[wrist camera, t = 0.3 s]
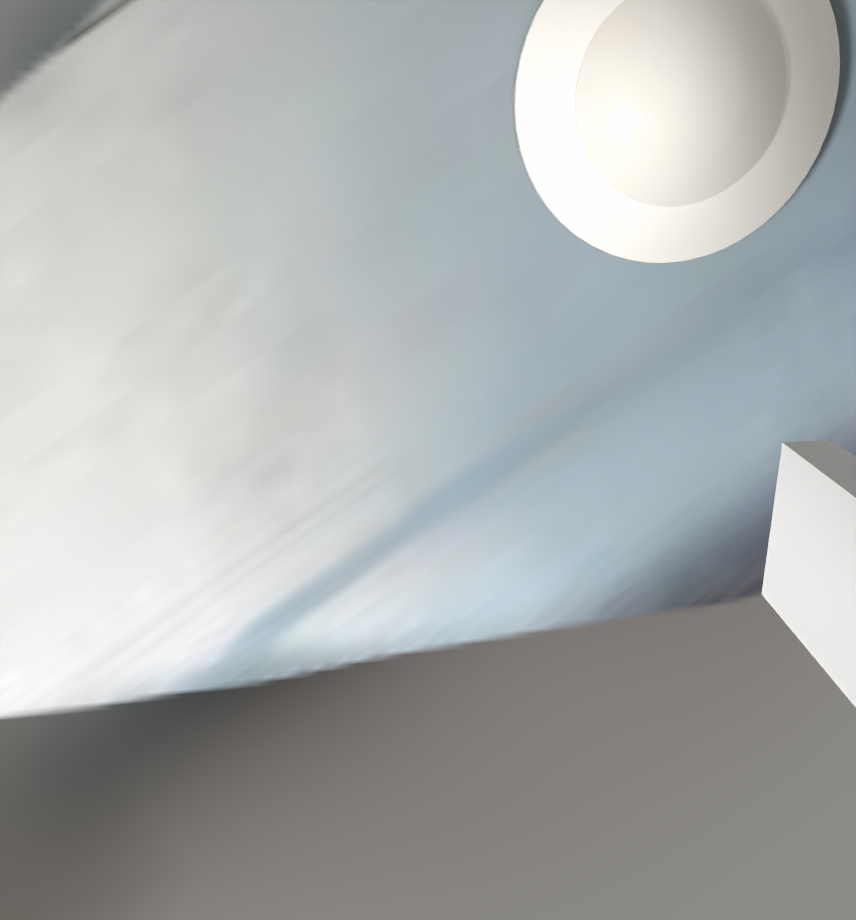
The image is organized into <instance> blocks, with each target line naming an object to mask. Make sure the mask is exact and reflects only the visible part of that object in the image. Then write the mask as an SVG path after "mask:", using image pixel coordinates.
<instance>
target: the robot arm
mask: <svg viewBox="0 0 856 920" xmlns="http://www.w3.org/2000/svg"><path fill="white" fill-rule="evenodd" d="M762 595H763V596H764V598H765V599H766V600H767V601H768V602H769V604H770V605H771V606H772V607H773V608H774V609H775V611H776V612H777V613H778V614H779V616H780V617H781V618H782V619H783V620H784V622H785V623H786V624H787V625H788V626H789V628H790V629H791V630H792V631H793V632H794V634H795V635H796V636H797V637H798V638H799V640H800V641H801V642H802V643H803V644H804V646H805V647H806V648H807V649H808V650H809V652H810V653H811V654H812V655H813V656H814V658H815V659H816V660H817V661H818V663H820V665H821V666H822V667H823V669H824V670H825V671H826V672H827V673H828V675H829V676H830V677H831V678H832V679H833V681H834V682H835V683H836V684H837V685H838V686H839V688H840V689H841V690H842V691H843V693H844V694H845V695H846V696H847V697H848V698H849V700H850V701H851V702H852V703H853V705H854V706H855V707H856V456H854V455H853V454H851V453H850V452H848V451H847V450H845V449H844V448H842V447H841V446H839V445H838V444H836V443H835V442H833V441H832V440H818V441H801V442H783V443H782V450H781V457H780V464H779V472H778V479H777V486H776V493H775V501H774V508H773V515H772V522H771V530H770V537H769V544H768V552H767V559H766V566H765V573H764V581H763V588H762Z"/></svg>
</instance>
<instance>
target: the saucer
mask: <svg viewBox="0 0 856 920" xmlns="http://www.w3.org/2000/svg"><path fill="white" fill-rule="evenodd" d="M839 72H840V53H839V39H838V33H837V27H836V21H835V17H834V13H833V10H832V7H831V4H830V0H543V1H542V2H541V4H540V6H539V8H538V9H537V11H536V13H535V15H534V17H533V19H532V22H531V24H530V26H529V29H528V31H527V34H526V36H525V39H524V42H523V46H522V49H521V52H520V56H519V59H518V65H517V71H516V76H515V82H514V100H513V112H514V126H515V133H516V138H517V144H518V149H519V152H520V156H521V159H522V162H523V165H524V168H525V171H526V173H527V175H528V177H529V179H530V181H531V183H532V185H533V188H534V190H535V191H536V193H537V194H538V196H539V197H540V199H541V200H542V202H543V203H544V205H545V206H546V207H547V209H548V210H549V211H550V212H551V213H552V214H553V216H554V217H555V218H556V219H557V220H558V221H559V222H560V223H561V224H562V225H563V226H565V227H566V228H567V229H568V230H569V231H570V232H571V233H573V234H574V235H576V236H577V237H579V238H580V239H582V240H583V241H585V242H587V243H588V244H590V245H592V246H594V247H596V248H599V249H601V250H603V251H605V252H607V253H609V254H612V255H615V256H619V257H622V258H625V259H629V260H635V261H642V262H648V263H669V262H677V261H685V260H690V259H694V258H698V257H702V256H706V255H709V254H711V253H714V252H716V251H719V250H721V249H724V248H726V247H728V246H730V245H732V244H733V243H735V242H737V241H739V240H741V239H743V238H744V237H746V236H747V235H749V234H750V233H751V232H753V231H754V230H756V229H757V228H759V227H760V226H761V225H763V224H764V223H765V222H766V221H767V220H768V219H769V218H770V217H772V216H773V215H774V214H775V213H776V212H777V211H778V210H779V209H780V208H781V207H782V206H783V205H784V204H785V202H786V201H787V200H788V199H789V198H790V197H791V196H792V195H793V193H794V192H795V191H796V189H797V188H798V186H799V185H800V184H801V182H802V181H803V179H804V178H805V177H806V175H807V174H808V172H809V170H810V168H811V166H812V165H813V163H814V161H815V159H816V158H817V156H818V154H819V151H820V149H821V147H822V144H823V142H824V140H825V137H826V135H827V132H828V129H829V126H830V123H831V119H832V116H833V113H834V108H835V103H836V98H837V93H838V86H839Z"/></svg>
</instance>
